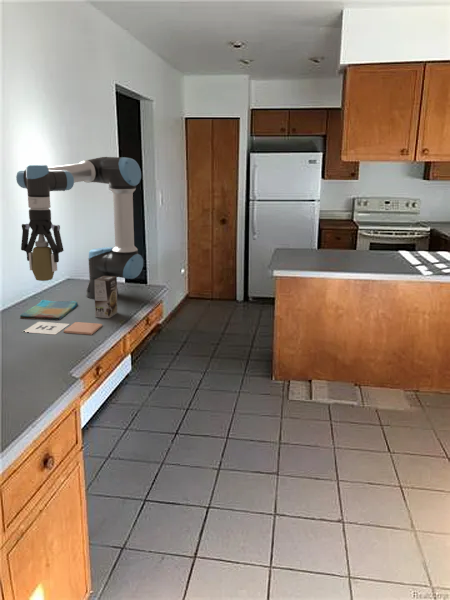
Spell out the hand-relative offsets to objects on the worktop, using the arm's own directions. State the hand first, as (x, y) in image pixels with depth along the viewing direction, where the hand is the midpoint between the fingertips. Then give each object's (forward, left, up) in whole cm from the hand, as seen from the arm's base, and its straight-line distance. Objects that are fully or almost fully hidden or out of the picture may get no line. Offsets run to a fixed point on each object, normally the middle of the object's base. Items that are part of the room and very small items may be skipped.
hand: (43, 270), depth 189 cm
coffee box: (-22, +16, -23) cm, 35 cm away
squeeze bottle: (0, 0, -4) cm, 4 cm away
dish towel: (-21, -9, -24) cm, 33 cm away
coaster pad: (-2, +14, -23) cm, 27 cm away
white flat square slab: (0, 0, -23) cm, 23 cm away
